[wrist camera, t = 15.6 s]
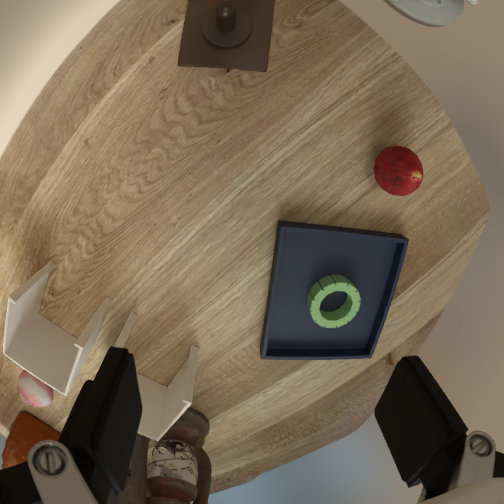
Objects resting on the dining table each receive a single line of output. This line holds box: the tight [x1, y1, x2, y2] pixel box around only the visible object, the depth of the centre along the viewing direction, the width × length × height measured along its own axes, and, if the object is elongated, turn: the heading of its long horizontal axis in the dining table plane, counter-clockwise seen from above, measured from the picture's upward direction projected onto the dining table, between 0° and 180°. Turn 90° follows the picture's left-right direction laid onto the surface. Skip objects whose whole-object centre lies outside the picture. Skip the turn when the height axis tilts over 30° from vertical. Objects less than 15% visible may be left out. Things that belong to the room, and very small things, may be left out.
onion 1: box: [17, 370, 53, 407], centre depth 41 cm, size 8×8×7 cm
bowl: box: [106, 476, 150, 504], centre depth 52 cm, size 18×18×15 cm
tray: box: [260, 221, 409, 360], centre depth 40 cm, size 17×19×2 cm
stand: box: [178, 0, 275, 72], centre depth 25 cm, size 10×10×7 cm
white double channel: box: [3, 261, 199, 441], centre depth 36 cm, size 25×11×11 cm, turn 56°
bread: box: [2, 412, 61, 469], centre depth 46 cm, size 17×24×15 cm
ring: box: [306, 274, 361, 328], centre depth 40 cm, size 7×7×2 cm
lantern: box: [130, 407, 211, 504], centre depth 33 cm, size 11×16×35 cm
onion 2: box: [374, 146, 423, 196], centre depth 31 cm, size 6×6×8 cm
